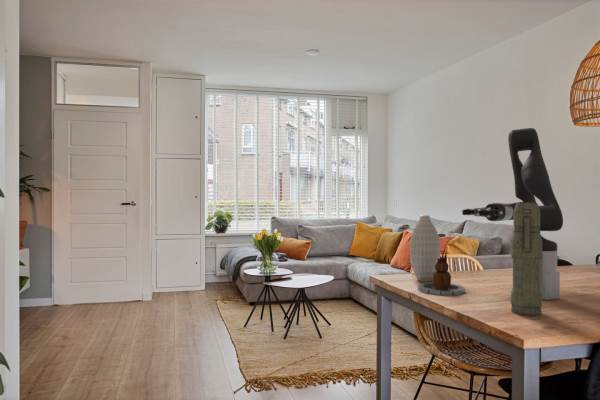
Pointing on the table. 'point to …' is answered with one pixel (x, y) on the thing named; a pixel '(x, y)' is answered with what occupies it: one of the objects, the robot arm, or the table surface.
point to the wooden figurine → (442, 274)
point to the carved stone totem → (526, 260)
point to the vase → (424, 249)
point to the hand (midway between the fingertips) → (471, 212)
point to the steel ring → (426, 286)
